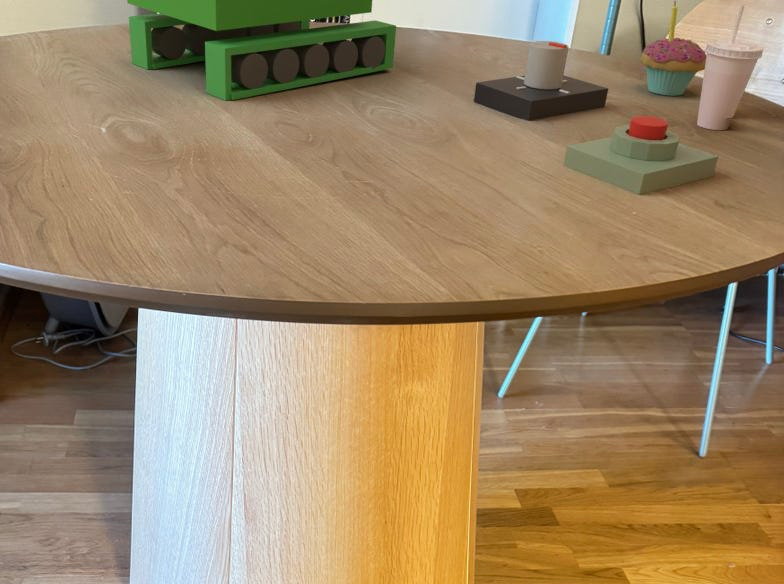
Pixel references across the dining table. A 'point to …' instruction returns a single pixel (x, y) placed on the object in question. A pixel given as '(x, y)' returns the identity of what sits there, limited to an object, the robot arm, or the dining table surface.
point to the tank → (260, 42)
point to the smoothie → (726, 78)
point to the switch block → (640, 161)
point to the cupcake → (672, 62)
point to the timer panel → (539, 97)
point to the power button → (648, 128)
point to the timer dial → (546, 64)
